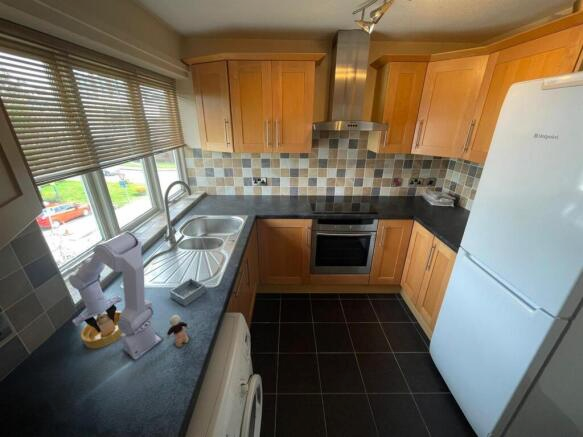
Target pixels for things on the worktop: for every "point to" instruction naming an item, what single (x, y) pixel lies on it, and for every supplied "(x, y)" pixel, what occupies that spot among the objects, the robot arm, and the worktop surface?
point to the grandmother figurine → (178, 330)
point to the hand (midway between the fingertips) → (105, 326)
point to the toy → (105, 324)
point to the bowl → (100, 335)
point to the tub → (187, 291)
